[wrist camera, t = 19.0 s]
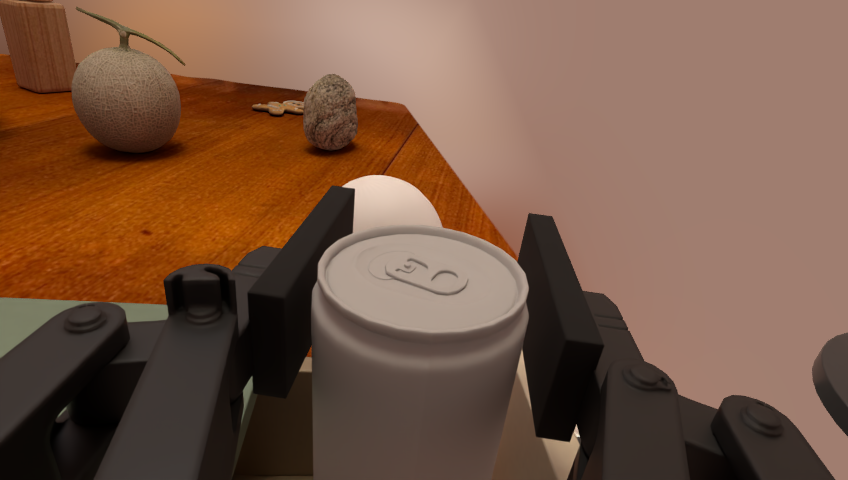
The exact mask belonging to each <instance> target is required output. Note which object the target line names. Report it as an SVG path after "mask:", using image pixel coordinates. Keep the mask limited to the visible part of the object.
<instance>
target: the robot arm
mask: <svg viewBox="0 0 848 480" xmlns="http://www.w3.org/2000/svg"><path fill="white" fill-rule="evenodd" d="M354 201H355V189H354V188H346V187H339V186H331V188H330V189H329V190H328V192H327V193H326V194H325V195H324V197H323V198H322V199H321V200H320V202H319V203H318V204H317V205H316V207H315V208H314V209H313V210H312V212H311V213H310V214H309V215H308V217H307V218H306V219H305V220H304V222H303V223H302V224H301V226H300V227H299V228H298V229H297V231H296V232H295V233H294V234H293V236H292V237H291V238H290V239H289V241H288V242H287V243H286V244H285V246H284V247H283V248H282V249H280V248H274V247H267V246H262V247H260V248H258V249H256V250H254V251H252V252H250V253H248V254H247V255H246V256H245V257H244V258H243V259H242V260H241V261H240V262H239V264H238V265H237V266H236V267H235V268H234V269H233V270H232V271H231V270H230V269H229V268H226V267H223V266H220V265H214V264H198V265H191V266H187V267H184V268H180V269H178V270H176V271H174V272H172V273H170V274H169V275H168V276H167V277H166V278H165V279H164V287H165V294H166V301H167V307H168V314H169V315H168V318H167V319H166V320H158V321H141V322H127V318H126V313H125V310H124V309H123V308H121V307H120V306H119V305H116V304H112V303H108V302H93V303H87V304H86V303H85V304H80V305H77V306H75V307H72V308H69V309H66V310H64V311H62V312H60V313H59V314H57V315H55V316H54V317H52V318H51V319H49V320H48V321H47V322H46V323H44V324H43V325H42V326H41V327H39V328H38V329H37V330H35V331H34V332H33V333H32V334H30V335H29V336H28V337H27V338H25V339H24V340H23V341H21V342H20V343H19V344H18V345H16V346H15V347H14V348H13V349H11V350H10V351H9V352H7V353H6V354H5V355H4V356H2V357H1V358H0V480H231V478H232V472H233V467H234V461H235V455H236V449H237V444H238V438H239V432H240V426H241V421H242V415H243V409H244V398H243V390H244V388H245V386H246V385H247V383H248V381H249V380H250V378H251V376H252V382H253V394H258V395H265V396H271V397H278V398H284V399H286V398H287V395H288V393H289V391H290V389H291V387H292V385H293V383H294V381H295V379H296V377H297V374H298V372H299V370H300V368H301V366H302V364H303V362H304V360H305V358H306V356H307V353H308V351H309V349H310V347H311V345H312V336H311V305H312V290H313V287H314V286H315V284H316V282H317V280H318V263H319V261H320V259H321V257H322V256H323V254H324V252H325V250H327V249H328V248H329V247H330V246H331V245H333V244H334V243H335V242H336V241H338V240H339V239H341V238H344V237H346V236H348V235H350V234H352V233H353V219H354ZM517 263H518V264H519V266H520V267H521V268H522V270H523V271H524V272H525V274H526V278H527V282H528V286H529V292H528V296H527V299H526V304H527V309H528V313H529V320H528V325H527V329H526V334H525V338H524V342H523V346H522V351H523V358H524V364H525V370H526V377H527V383H528V389H529V396H530V402H531V409H532V415H533V421H534V428H535V434H536V437H538V438H545V439H551V440H558V441H564V442H570V441H571V438H572V435H573V432H574V429H575V427H576V424H577V427H578V431H579V435H580V438H581V443H580V446H579V448H578V451H577V454H576V456H575V459H574V462H573V465H572V467H571V470H570V473H569V475H568V478H567V480H835V479H834V477H833V476H832V475H831V473H830V472H829V470H828V469H827V468H826V466H825V465H824V464H823V462H822V461H821V460H820V458H819V457H818V455H817V454H816V453H815V451H814V450H813V449H812V447H811V446H810V445H809V443H808V442H807V440H806V439H805V438H804V436H803V435H802V434H801V432H800V431H799V430H798V428H797V427H796V426H795V425H794V424H793V423H792V422H791V421H790V420H789V419H788V418H787V417H786V416H785V415H783V414H782V413H781V412H779V411H778V410H776V409H775V408H774V407H772V406H770V405H768V404H765V403H764V402H762V401H759V400H757V399H753V398H750V397H746V396H739V395H731V396H729V397H726V398H724V399H723V401H722V403H721V405H720V407H719V409H715V408H712V407H710V406H707V405H704V404H701V403H698V402H696V401H693V400H690V399H688V398H685V397H683V396H681V395H678V392H677V389H676V387H675V384H674V382H673V381H672V380H671V379H670V378H669V376H668V375H667V374H666V373H664V372H663V371H662V370H660V369H659V368H657V367H656V366H654V365H652V364H649V363H647V362H645V361H644V359H643V357H642V355H641V353H640V351H639V349H638V347H637V345H636V343H635V341H634V339H633V337H632V335H631V333H630V331H628V327H627V326H626V323H625V322H624V320H623V317H622V315H621V313H620V311H619V310H618V307H617V306H616V305H615V304H614V303H613V302H612V301H611V300H610V299H609V298H608V297H606V296H605V295H604V294H600V293H593V292H587V291H582V289H581V286H580V284H579V281H578V279H577V276H576V274H575V271H574V269H573V266H572V264H571V261H570V259H569V257H568V254H567V252H566V249H565V247H564V244H563V242H562V239H561V237H560V234H559V232H558V229H557V227H556V225H555V222H554V220H553V217H552V216H545V215H537V214H531V213H529V214H528V219H527V223H526V227H525V232H524V236H523V240H522V245H521V249H520V253H519V257H518V262H517ZM65 407H66V410H65V411H64V412H63V413H62V414H61V415H60V416H59V414H60V413H61V412H62V411H63V409H64V408H65ZM58 416H59V417H58Z"/></svg>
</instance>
